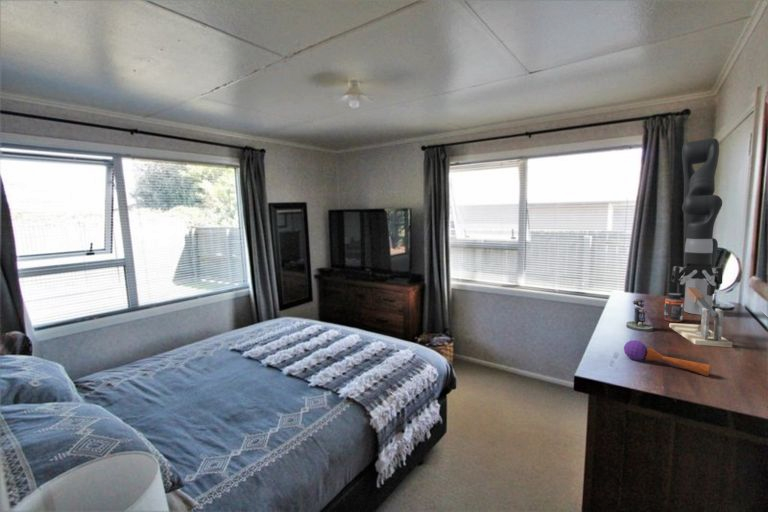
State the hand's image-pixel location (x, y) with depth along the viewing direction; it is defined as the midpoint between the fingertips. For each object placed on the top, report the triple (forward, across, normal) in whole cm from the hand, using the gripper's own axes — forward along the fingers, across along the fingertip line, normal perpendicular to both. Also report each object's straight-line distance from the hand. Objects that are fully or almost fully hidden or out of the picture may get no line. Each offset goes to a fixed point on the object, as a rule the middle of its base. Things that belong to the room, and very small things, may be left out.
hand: (695, 294), depth 130 cm
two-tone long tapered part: (+15, +22, +36) cm, 44 cm away
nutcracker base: (+14, 0, +4) cm, 15 cm away
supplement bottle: (+14, 0, -16) cm, 22 cm away
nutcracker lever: (+5, 0, +3) cm, 6 cm away
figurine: (+15, +16, -2) cm, 22 cm away
